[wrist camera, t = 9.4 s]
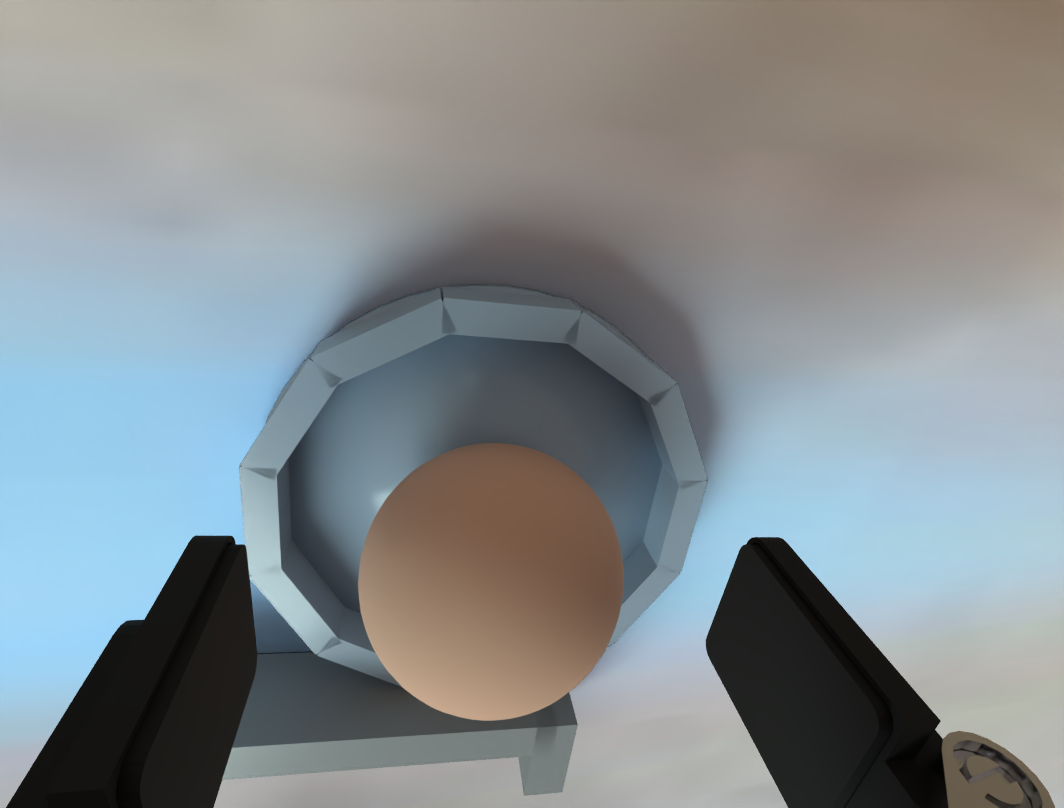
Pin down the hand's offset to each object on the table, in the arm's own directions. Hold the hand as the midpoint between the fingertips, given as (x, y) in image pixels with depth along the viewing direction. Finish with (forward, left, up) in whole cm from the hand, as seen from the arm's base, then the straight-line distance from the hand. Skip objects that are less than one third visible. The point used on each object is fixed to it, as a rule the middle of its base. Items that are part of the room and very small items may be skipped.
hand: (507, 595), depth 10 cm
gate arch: (+8, -3, -6) cm, 10 cm away
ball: (+1, 0, -5) cm, 5 cm away
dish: (+1, 0, -6) cm, 6 cm away
